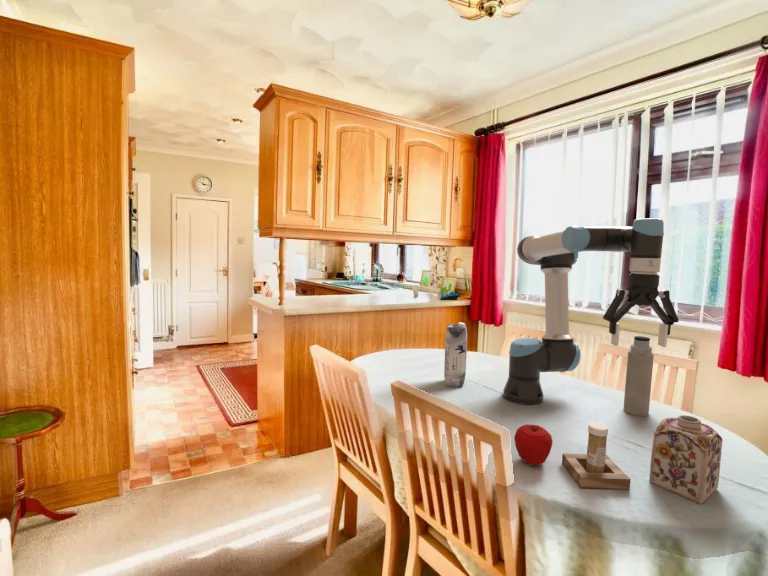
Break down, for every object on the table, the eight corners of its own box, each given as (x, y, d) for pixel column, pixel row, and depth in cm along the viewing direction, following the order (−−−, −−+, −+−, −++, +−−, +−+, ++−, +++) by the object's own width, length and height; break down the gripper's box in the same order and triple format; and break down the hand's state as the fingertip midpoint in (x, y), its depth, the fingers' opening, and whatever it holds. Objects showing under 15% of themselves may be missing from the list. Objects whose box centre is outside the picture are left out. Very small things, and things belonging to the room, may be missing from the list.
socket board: (561, 463, 116) (562, 453, 115) (605, 465, 115) (606, 454, 115) (580, 488, 104) (581, 477, 103) (629, 490, 103) (630, 479, 103)
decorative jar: (702, 506, 98) (709, 433, 96) (647, 482, 107) (653, 415, 105) (719, 489, 105) (726, 420, 103) (666, 468, 114) (672, 405, 112)
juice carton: (443, 386, 177) (445, 324, 174) (445, 378, 187) (447, 319, 184) (464, 388, 175) (466, 325, 172) (465, 380, 185) (467, 320, 182)
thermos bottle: (620, 406, 158) (626, 334, 155) (644, 408, 156) (650, 335, 153) (626, 414, 150) (633, 338, 147) (651, 417, 148) (658, 340, 145)
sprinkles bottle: (581, 470, 111) (584, 422, 110) (597, 469, 112) (601, 421, 110) (591, 479, 107) (595, 429, 105) (608, 479, 107) (612, 429, 106)
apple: (507, 462, 116) (509, 424, 115) (523, 450, 123) (525, 415, 122) (541, 476, 109) (543, 436, 108) (556, 463, 116) (559, 426, 115)
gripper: (606, 273, 116) (601, 347, 118) (698, 274, 115) (690, 349, 117) (593, 271, 123) (589, 341, 125) (679, 272, 122) (673, 343, 125)
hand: (638, 345), depth 121 cm, fingers open, 13 cm apart
